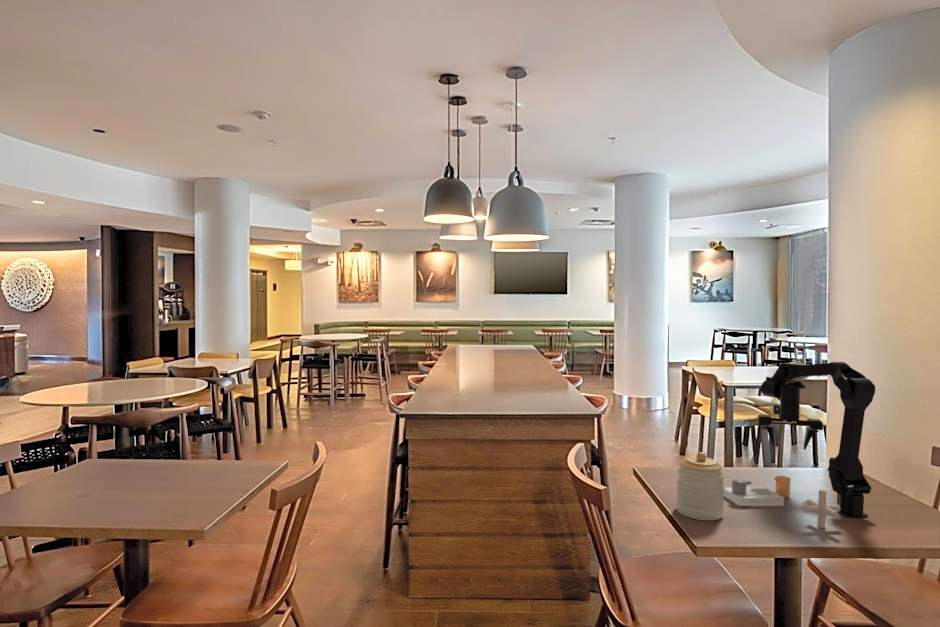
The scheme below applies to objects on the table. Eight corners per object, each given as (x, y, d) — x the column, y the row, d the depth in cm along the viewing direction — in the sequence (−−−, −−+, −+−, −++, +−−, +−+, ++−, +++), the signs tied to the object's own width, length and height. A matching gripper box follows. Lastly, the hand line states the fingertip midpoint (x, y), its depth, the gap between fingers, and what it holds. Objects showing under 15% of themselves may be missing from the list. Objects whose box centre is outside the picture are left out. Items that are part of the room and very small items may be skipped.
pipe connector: (823, 519, 171) (825, 484, 170) (851, 533, 161) (853, 496, 160) (792, 520, 169) (793, 485, 168) (818, 534, 159) (820, 497, 159)
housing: (783, 505, 181) (784, 486, 180) (740, 506, 179) (740, 486, 179) (763, 494, 191) (764, 475, 190) (722, 495, 189) (722, 476, 189)
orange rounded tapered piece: (792, 498, 187) (793, 479, 187) (778, 498, 187) (779, 479, 187) (784, 494, 191) (785, 475, 191) (770, 494, 191) (771, 475, 191)
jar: (665, 507, 177) (668, 448, 176) (701, 503, 182) (703, 445, 181) (696, 523, 165) (699, 460, 164) (733, 518, 169) (736, 456, 169)
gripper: (818, 399, 202) (817, 445, 202) (757, 395, 209) (755, 440, 209) (823, 404, 192) (822, 453, 192) (759, 400, 199) (758, 447, 199)
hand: (788, 448), depth 198 cm, fingers open, 9 cm apart
